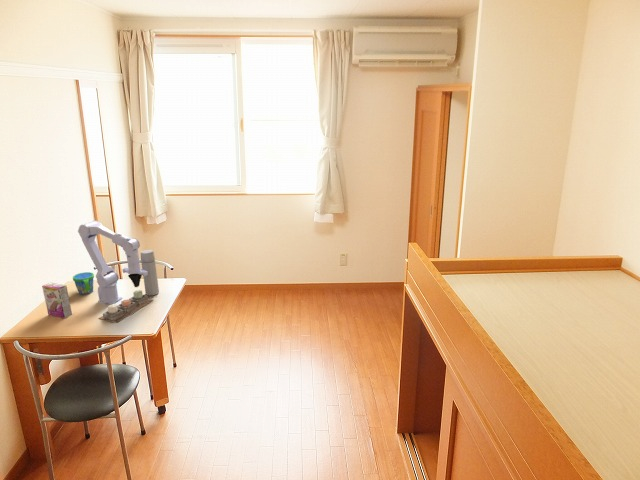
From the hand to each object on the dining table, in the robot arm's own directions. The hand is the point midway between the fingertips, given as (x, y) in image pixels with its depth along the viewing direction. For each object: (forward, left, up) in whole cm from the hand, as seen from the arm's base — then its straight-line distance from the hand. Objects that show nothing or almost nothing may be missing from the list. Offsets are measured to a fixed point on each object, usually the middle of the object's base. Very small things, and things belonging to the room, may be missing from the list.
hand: (137, 286), depth 236 cm
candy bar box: (-30, -23, -11) cm, 39 cm away
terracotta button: (-2, -7, -9) cm, 12 cm away
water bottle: (-4, +14, -11) cm, 18 cm away
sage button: (-2, +2, -8) cm, 9 cm away
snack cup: (-40, +3, -11) cm, 41 cm away
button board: (-2, -7, -10) cm, 13 cm away
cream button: (-2, -16, -8) cm, 18 cm away
